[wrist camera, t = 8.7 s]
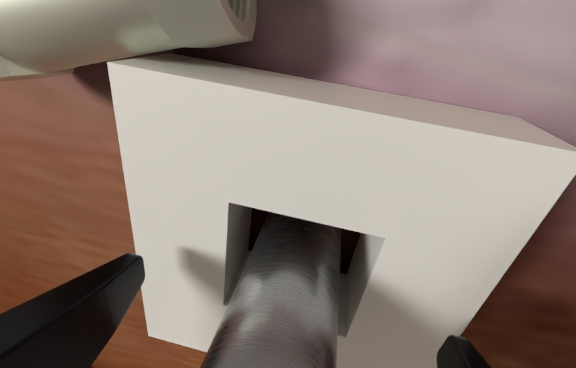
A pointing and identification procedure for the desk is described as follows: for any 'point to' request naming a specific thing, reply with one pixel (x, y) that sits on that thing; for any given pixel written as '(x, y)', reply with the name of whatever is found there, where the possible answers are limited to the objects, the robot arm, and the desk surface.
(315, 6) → the desk surface
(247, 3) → the pipe fitting
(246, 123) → the hole block
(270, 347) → the metal peg
